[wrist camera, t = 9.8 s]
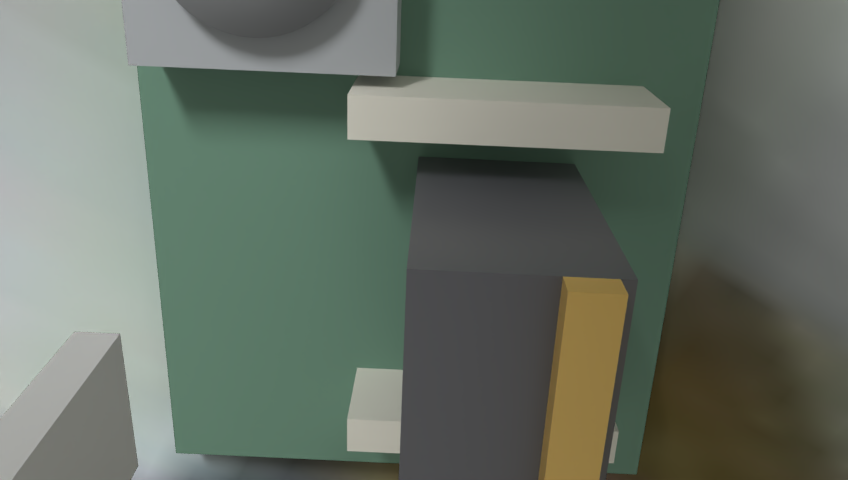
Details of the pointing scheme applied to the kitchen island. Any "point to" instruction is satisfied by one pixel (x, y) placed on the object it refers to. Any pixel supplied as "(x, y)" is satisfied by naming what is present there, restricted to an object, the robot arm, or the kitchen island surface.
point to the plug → (511, 324)
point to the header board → (383, 187)
